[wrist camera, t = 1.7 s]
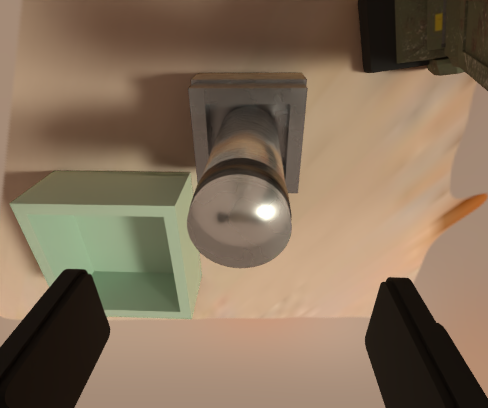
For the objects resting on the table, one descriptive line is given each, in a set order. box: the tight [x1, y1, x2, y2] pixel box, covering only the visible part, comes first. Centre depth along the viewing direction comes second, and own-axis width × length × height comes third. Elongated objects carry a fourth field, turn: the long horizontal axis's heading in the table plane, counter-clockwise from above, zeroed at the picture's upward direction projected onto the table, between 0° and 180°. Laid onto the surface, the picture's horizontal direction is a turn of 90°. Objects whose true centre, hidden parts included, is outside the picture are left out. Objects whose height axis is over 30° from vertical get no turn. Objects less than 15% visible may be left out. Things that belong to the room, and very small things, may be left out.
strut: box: [187, 106, 292, 268], centre depth 18 cm, size 4×4×12 cm
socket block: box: [188, 73, 307, 193], centre depth 23 cm, size 8×8×5 cm
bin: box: [9, 171, 202, 319], centre depth 29 cm, size 13×13×6 cm
